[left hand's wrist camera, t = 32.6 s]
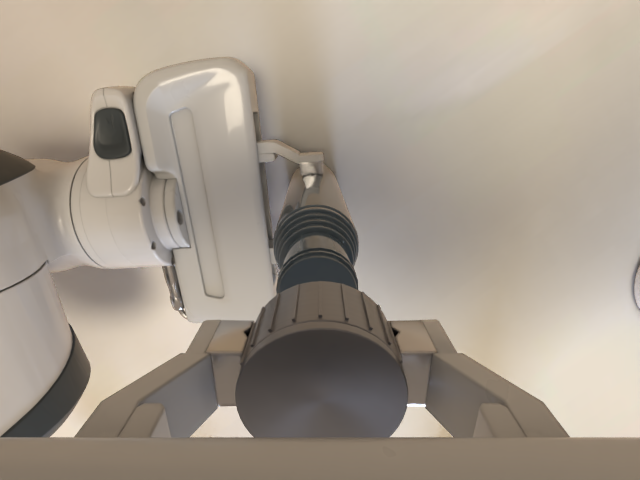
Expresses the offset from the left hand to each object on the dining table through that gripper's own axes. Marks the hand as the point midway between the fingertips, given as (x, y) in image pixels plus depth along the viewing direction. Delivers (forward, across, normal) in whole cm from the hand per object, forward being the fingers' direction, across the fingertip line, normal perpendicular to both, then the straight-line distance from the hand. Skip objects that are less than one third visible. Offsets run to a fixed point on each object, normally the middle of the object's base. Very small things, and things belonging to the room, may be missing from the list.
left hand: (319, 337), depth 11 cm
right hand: (+17, 0, 0) cm, 17 cm away
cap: (-2, 0, 0) cm, 2 cm away
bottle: (+23, +1, 0) cm, 23 cm away
